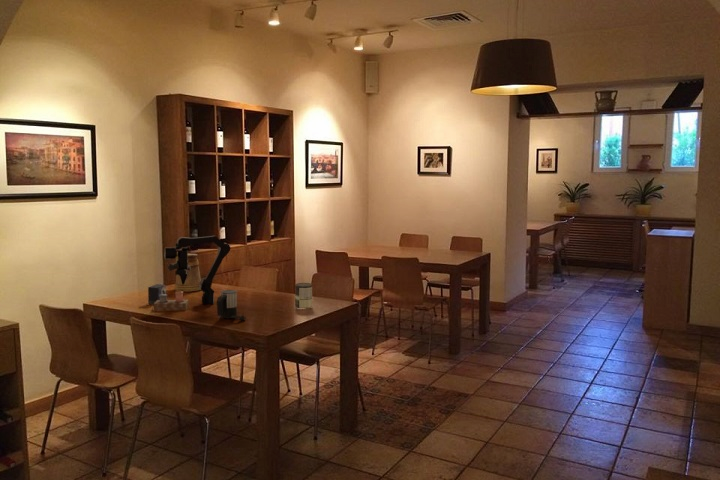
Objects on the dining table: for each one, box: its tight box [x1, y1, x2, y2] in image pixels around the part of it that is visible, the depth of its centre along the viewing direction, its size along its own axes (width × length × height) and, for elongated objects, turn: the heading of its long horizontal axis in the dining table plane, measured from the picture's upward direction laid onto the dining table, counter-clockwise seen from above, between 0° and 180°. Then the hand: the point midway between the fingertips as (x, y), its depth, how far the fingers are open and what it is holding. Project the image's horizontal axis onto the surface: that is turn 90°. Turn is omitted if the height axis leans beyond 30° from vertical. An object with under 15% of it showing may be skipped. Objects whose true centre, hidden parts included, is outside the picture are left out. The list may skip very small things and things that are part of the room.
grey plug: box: [159, 293, 168, 303], centre depth 342 cm, size 5×5×8 cm
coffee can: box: [294, 282, 313, 309], centre depth 349 cm, size 10×10×14 cm
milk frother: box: [216, 289, 247, 321], centre depth 321 cm, size 14×16×15 cm
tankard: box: [174, 251, 202, 293], centre depth 398 cm, size 18×24×25 cm
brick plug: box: [174, 290, 184, 303], centre depth 343 cm, size 5×5×8 cm
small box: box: [147, 283, 167, 305], centre depth 358 cm, size 11×6×10 cm, turn 168°
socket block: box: [153, 299, 190, 312], centre depth 343 cm, size 18×10×4 cm, turn 99°
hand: (183, 284), depth 350 cm, fingers closed
